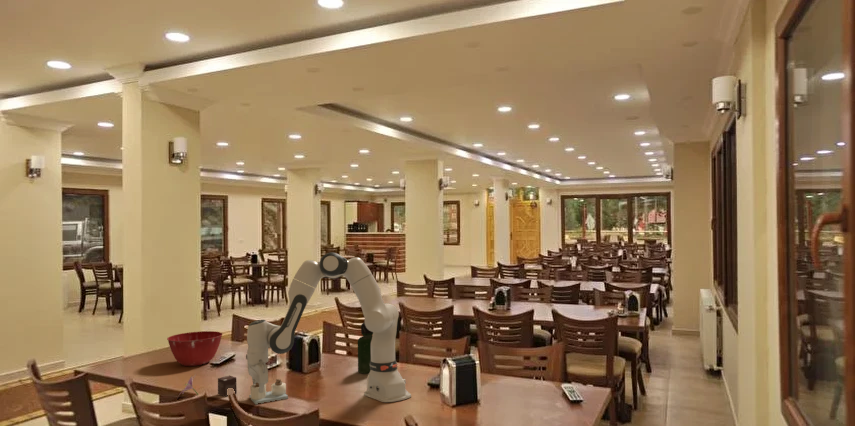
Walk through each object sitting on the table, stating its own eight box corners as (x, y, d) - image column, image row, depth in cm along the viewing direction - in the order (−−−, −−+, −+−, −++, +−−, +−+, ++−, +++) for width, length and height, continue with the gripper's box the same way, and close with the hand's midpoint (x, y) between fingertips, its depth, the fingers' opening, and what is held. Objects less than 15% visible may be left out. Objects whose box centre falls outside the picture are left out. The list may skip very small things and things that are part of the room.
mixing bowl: (167, 360, 310) (167, 333, 311) (220, 354, 322) (220, 328, 323) (166, 372, 285) (166, 343, 285) (224, 365, 297) (224, 337, 297)
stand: (289, 398, 239) (289, 381, 239) (255, 404, 231) (255, 387, 231) (281, 391, 248) (281, 375, 248) (249, 397, 240) (249, 380, 241)
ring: (267, 397, 236) (267, 386, 236) (253, 400, 233) (252, 388, 233) (263, 394, 241) (263, 382, 242) (249, 396, 238) (249, 385, 238)
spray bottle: (379, 368, 285) (379, 321, 285) (376, 374, 275) (375, 324, 275) (360, 368, 286) (359, 321, 286) (355, 374, 276) (355, 324, 276)
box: (229, 391, 251) (229, 375, 251) (237, 393, 247) (236, 377, 247) (217, 394, 246) (217, 378, 246) (224, 397, 242) (224, 380, 242)
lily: (194, 392, 254) (183, 375, 252) (212, 384, 249) (201, 367, 248) (177, 408, 242) (165, 390, 241) (196, 400, 238) (184, 382, 237)
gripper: (271, 361, 230) (272, 394, 230) (259, 352, 248) (259, 382, 247) (256, 363, 227) (257, 397, 227) (244, 354, 244) (245, 385, 244)
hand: (258, 389), depth 237 cm, fingers open, 8 cm apart
